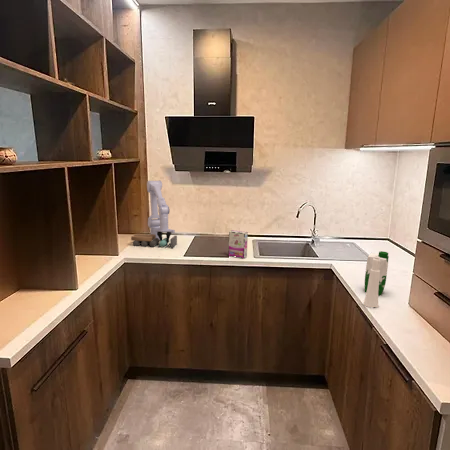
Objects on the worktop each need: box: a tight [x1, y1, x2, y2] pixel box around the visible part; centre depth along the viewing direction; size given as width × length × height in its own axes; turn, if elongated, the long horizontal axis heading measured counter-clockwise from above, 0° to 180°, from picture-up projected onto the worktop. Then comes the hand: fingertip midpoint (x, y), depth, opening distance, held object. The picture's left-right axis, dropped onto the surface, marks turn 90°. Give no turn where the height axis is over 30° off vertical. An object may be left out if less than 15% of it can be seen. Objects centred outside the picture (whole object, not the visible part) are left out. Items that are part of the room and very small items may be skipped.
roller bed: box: [132, 238, 170, 249], centre depth 232 cm, size 10×24×4 cm, turn 83°
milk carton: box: [364, 250, 389, 296], centre depth 157 cm, size 9×9×20 cm
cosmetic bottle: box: [363, 256, 380, 309], centre depth 142 cm, size 6×6×22 cm
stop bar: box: [169, 235, 178, 249], centre depth 230 cm, size 11×2×6 cm, turn 173°
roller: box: [158, 237, 168, 248], centre depth 231 cm, size 10×4×4 cm, turn 172°
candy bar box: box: [228, 229, 249, 259], centre depth 209 cm, size 11×5×16 cm, turn 62°
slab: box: [130, 233, 156, 241], centre depth 232 cm, size 10×14×2 cm
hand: (164, 242), depth 231 cm, fingers closed on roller, 4 cm apart
